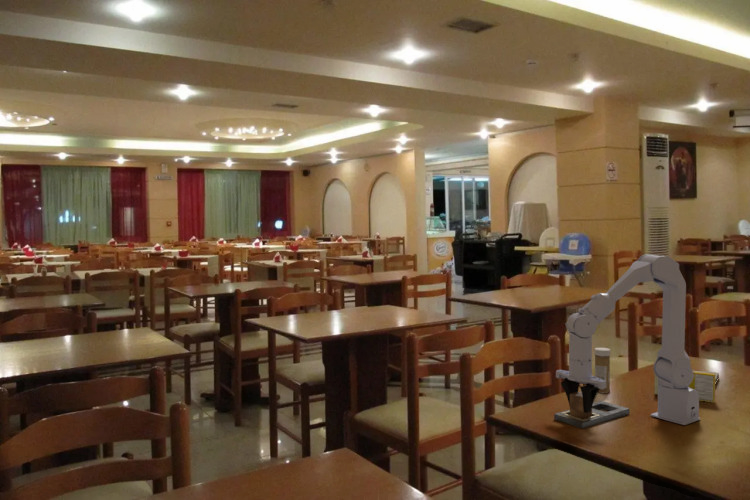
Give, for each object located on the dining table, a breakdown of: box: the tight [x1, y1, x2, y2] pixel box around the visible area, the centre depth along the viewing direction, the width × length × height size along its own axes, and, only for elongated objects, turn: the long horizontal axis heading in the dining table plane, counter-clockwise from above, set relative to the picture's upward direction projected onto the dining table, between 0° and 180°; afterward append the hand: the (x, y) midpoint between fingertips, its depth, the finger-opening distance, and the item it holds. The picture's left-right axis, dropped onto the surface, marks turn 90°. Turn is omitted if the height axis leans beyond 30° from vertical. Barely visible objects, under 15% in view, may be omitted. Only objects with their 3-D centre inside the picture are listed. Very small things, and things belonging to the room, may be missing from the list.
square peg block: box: [569, 390, 592, 419], centre depth 161 cm, size 4×4×7 cm
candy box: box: [653, 370, 716, 404], centre depth 180 cm, size 16×2×8 cm, turn 52°
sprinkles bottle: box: [594, 347, 611, 394], centre depth 187 cm, size 5×5×14 cm
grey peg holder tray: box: [553, 400, 630, 430], centre depth 164 cm, size 9×20×2 cm, turn 124°
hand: (580, 409), depth 161 cm, fingers closed on square peg block, 4 cm apart
